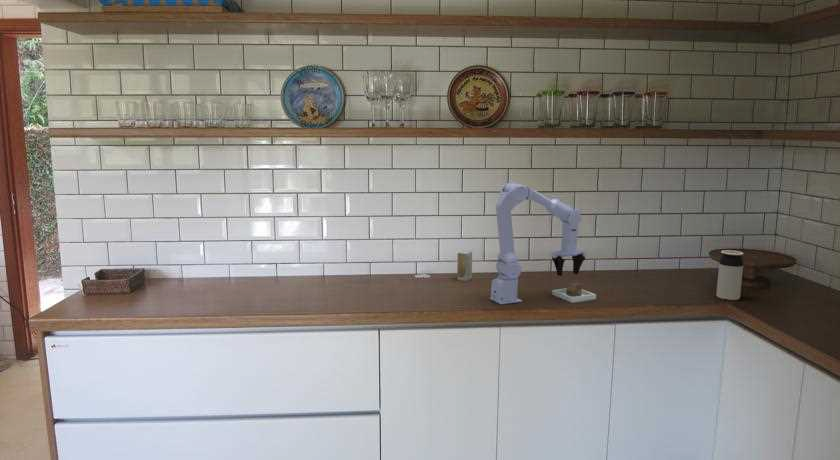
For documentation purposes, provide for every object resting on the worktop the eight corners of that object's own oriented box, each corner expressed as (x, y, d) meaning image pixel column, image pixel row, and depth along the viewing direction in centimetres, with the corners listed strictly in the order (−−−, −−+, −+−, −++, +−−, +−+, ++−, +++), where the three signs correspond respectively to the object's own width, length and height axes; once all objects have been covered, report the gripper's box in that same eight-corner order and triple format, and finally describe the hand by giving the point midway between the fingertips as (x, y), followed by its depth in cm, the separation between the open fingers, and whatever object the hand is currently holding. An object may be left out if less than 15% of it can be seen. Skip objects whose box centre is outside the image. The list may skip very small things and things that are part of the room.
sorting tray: (571, 303, 205) (571, 297, 205) (552, 295, 216) (552, 290, 216) (596, 299, 210) (596, 294, 210) (576, 292, 220) (576, 287, 220)
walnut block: (572, 298, 210) (573, 285, 209) (566, 295, 214) (566, 282, 213) (581, 296, 212) (582, 284, 211) (574, 294, 215) (575, 281, 215)
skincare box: (463, 277, 244) (463, 249, 242) (472, 278, 242) (472, 251, 240) (456, 280, 239) (457, 252, 237) (465, 281, 236) (466, 253, 234)
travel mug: (739, 301, 208) (744, 254, 205) (715, 298, 212) (719, 252, 209) (740, 296, 215) (744, 251, 212) (716, 293, 219) (721, 249, 216)
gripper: (560, 242, 205) (558, 278, 207) (591, 240, 210) (589, 275, 212) (548, 239, 211) (547, 274, 213) (579, 237, 217) (577, 271, 219)
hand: (567, 274), depth 213 cm, fingers open, 7 cm apart
